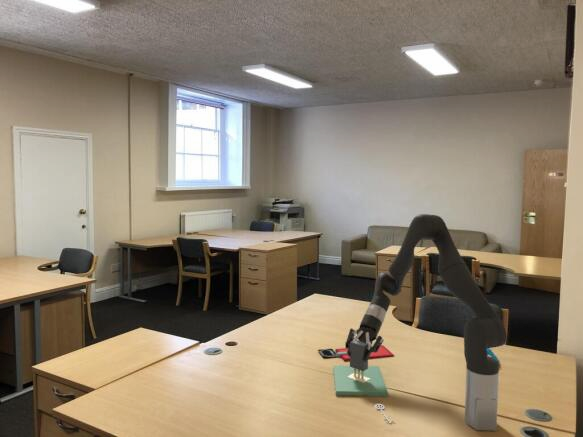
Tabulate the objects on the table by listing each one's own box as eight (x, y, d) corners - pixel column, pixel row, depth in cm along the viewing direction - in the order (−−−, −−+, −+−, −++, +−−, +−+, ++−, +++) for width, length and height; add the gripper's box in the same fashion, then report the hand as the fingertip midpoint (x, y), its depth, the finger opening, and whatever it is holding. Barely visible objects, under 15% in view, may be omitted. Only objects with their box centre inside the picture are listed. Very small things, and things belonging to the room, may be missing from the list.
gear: (501, 362, 182) (482, 342, 185) (489, 371, 183) (471, 351, 186) (498, 356, 193) (481, 337, 195) (487, 364, 194) (470, 346, 197)
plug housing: (354, 364, 172) (354, 339, 171) (367, 368, 168) (368, 343, 167) (349, 366, 170) (350, 342, 169) (363, 371, 166) (363, 346, 165)
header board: (387, 396, 158) (387, 383, 157) (335, 395, 159) (335, 382, 158) (378, 369, 180) (378, 358, 179) (333, 368, 180) (333, 358, 180)
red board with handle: (316, 350, 201) (326, 364, 186) (316, 344, 200) (327, 357, 186) (379, 345, 208) (393, 358, 193) (379, 339, 208) (394, 351, 193)
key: (382, 405, 152) (373, 406, 151) (382, 402, 152) (373, 403, 151) (395, 424, 140) (385, 425, 140) (395, 421, 140) (385, 422, 140)
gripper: (353, 310, 177) (336, 348, 169) (386, 317, 168) (369, 358, 160) (361, 320, 182) (344, 357, 174) (393, 328, 172) (376, 368, 164)
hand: (356, 357), depth 167 cm, fingers closed on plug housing, 6 cm apart
